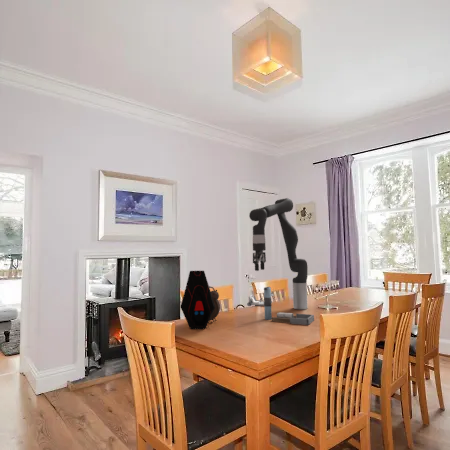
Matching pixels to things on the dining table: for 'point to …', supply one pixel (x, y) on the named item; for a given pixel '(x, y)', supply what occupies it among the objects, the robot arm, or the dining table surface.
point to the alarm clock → (217, 304)
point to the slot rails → (281, 319)
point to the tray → (302, 319)
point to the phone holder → (256, 301)
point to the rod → (267, 303)
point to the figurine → (197, 301)
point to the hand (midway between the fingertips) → (259, 270)
